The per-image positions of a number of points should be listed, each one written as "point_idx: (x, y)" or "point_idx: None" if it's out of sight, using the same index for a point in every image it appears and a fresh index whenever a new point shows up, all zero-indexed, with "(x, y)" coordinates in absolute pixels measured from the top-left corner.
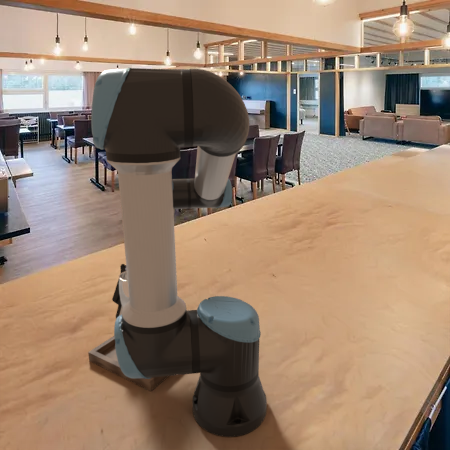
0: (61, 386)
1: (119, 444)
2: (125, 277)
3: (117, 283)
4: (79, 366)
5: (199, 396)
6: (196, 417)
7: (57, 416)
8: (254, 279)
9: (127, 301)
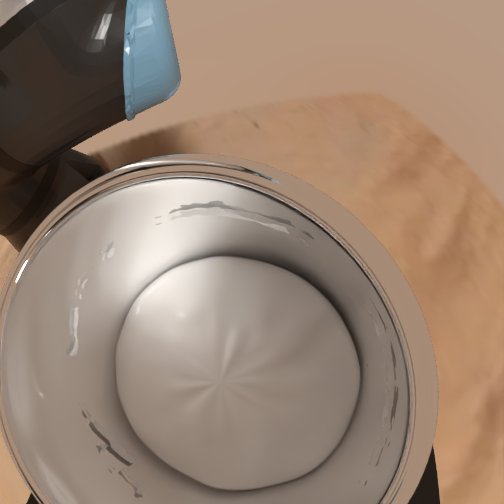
0: (403, 201)
1: (218, 114)
2: (352, 487)
3: (436, 489)
4: (411, 271)
5: (82, 159)
6: (107, 171)
7: (352, 135)
8: None
9: (248, 257)
